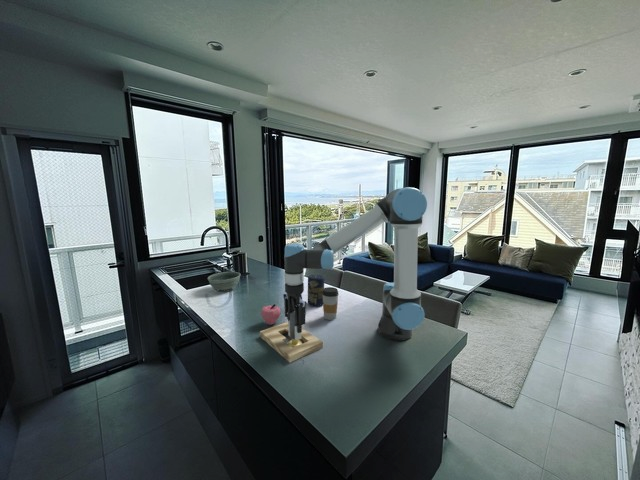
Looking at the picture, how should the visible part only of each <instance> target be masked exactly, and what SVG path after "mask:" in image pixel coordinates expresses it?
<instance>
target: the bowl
mask: <svg viewBox="0 0 640 480" xmlns="http://www.w3.org/2000/svg"><path fill="white" fill-rule="evenodd" d="M240 278H241V273H240V272H237V271H224V272H218V273H213V274H211V275H209V276H208V277H207V280H208V283H209V285H210V286H211V288H213V289H215V290H217V291H218V292H221V293H222V292H223V293H225V292H229V291H232V290H233V288H235V287H236V286H238V283H239V281H240Z"/></svg>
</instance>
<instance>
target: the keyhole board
mask: <svg viewBox="0 0 640 480" xmlns="http://www.w3.org/2000/svg"><path fill="white" fill-rule="evenodd" d="M286 333H288V334H289V330H288V321H286V322H284V323H281V324H277V325H274V326H272V327H269V328H268V327H267V328H266V329H263V330H260V331H259V337H260V338H261V339H262V340H263V341H264V342H265V343H267V344H268V346H270V347H271V348H272V349H273V350H274V351H276V352H277V353H278V354H280V356H281V357H283V358H284V359H285V360H286V361H287V362H288V363H292V362H295V361H296V360H299V359H301V358H303V357H305V356H306V357H307V356H308V355H310V354H312V353H315V352H316V351H319V350H322V349H323V348H324V344H323V343H324V341H323V340H321V339H319V338H317V337H316V336H315V335H313V334H311V333H310V332H308V331H307V330H305V329H304V328H302V332H301V339H299V340H300V341H302V344H301V345H298V346H296V347H294V348H292V347H291V346H290V345H289V344H288V342H286V341H287V337H286V336H284V334H286Z"/></svg>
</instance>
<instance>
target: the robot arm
mask: <svg viewBox="0 0 640 480" xmlns="http://www.w3.org/2000/svg"><path fill="white" fill-rule="evenodd" d="M427 208H428V201H427V197H426V195H425V194H424V193H423V192H422V190H420V189H418V188H415V187H412V186H411V187H410V186H408V187H407V186H406V187H401V188H397V189H394V190H392V191H391V192H389V193H388V194H387V195H386V196H384V197H382V199H381V200H379V201H378V202H376V203H374V206H373V208H371V209H369V210H368V211H367V212H364V213H363V214H361V216H359V217H358V218H355V220H353V221H352V222H350V223H348V224H347V225H345V226H343V227H342V228H341V229H340V230H337V231H336V232H334V233H333V234H331V235H330V236H328V237H327V238H325V239H324V240H322V241H321V242H318V243H316V244H315V245H313V247H312V249H305V247H304V245H303V244H302V243H288V244H286V245H285V246H284V255H283V256H284V257H283V259H284V283H285V284H284V292H285V293H283V295H282V296H283V301H284V303H283V304H284V306H283V307H284V317H285V318H286V319H287V322H288V330H289V333H288V336H289V337H290V313H291V312H295V320H296V324H295V340H296V341H297V340H300V339H301V332H302V329H303V327H302V326H304V325H305V324H306V312H307V311H306V310H307V309H306V308H307V304H308V301H304V300H303V296H302V294H303V293H304V292H305V291H304V290H305V286H304V285H305V284H304V279H305V278H304V272H305V270H304V269H311V270H312V269H314V270H316V269H317V270H319V269H320V270H328V269H330V270H331V269H333V268H334V263H335V262H334V261H335V254H336V253H338V252H339V251H341V250H342V249H344V248H346V247H347V246H349V245H350V244H352V243H354V242H355V241H356V240H358V239H361V237H363V236H365V235H366V234H368V233H369V232H371V231H372V230H374V229H376V228H377V227H379V226H380V225H382V224H383V223H386V224H387V223H389V224H390V226H391V227H393V232H394V233H393V282H386V283H385V284H383V289H382V293H383V294H382V309H381V310H382V312H381V313H382V315H381V317H380V319H379V322H378V325H377V332H378V334H379V335H380V336H382V337H384V338H386V339H388V340H392V341H406V340H409V339H411V337H412V335H413V330H414V329H417V328H418V327H419V326H420V325H422V324H423V322H424V320H425V315H426V314H425V310H424V308H423V307H422V303H421V302H422V293H421V291H420V290H418V250H419V249H418V248H419V247H418V246H419V245H418V240H419V239H418V238H419V237H418V235H419V228H420V227H421V226H422V225H423V216H424V215H425V213H426V211H427Z"/></svg>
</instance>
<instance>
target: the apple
mask: <svg viewBox="0 0 640 480" xmlns="http://www.w3.org/2000/svg"><path fill="white" fill-rule="evenodd" d="M260 314H261V317H262V319H263V320H264V321H265V323H266V325H268V326H271V325H275V324H276V323H277V321H278V319H279V318H280V317H281V308H280V307H279V306H277V305H276V304H275V303H274V304H273V305H270V304H269V305H266V306H265V305H263V307H262V308H261V310H260Z"/></svg>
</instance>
